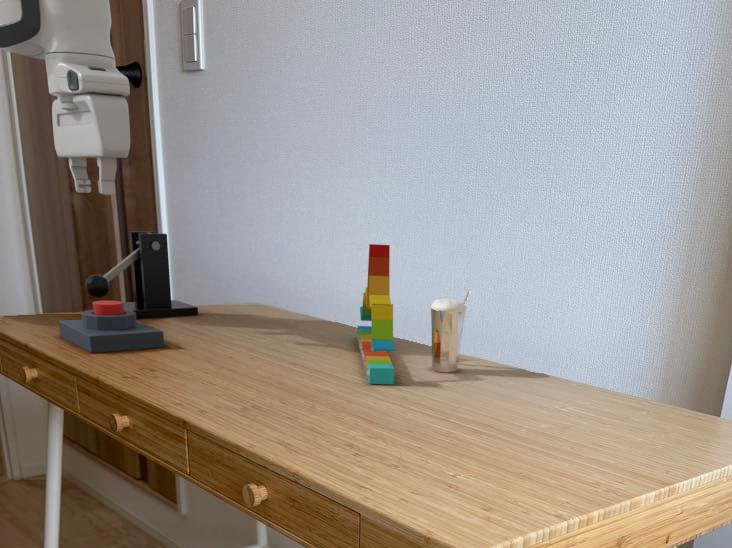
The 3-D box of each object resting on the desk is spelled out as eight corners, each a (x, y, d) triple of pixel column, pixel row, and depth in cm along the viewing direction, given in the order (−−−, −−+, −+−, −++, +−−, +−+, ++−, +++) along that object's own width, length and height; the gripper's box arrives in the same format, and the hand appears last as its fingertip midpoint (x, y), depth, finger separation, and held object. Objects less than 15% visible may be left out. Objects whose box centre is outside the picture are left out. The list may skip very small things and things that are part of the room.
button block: (60, 336, 118) (57, 307, 116) (129, 331, 124) (127, 304, 122) (91, 353, 109) (88, 322, 107) (164, 347, 114) (162, 317, 113)
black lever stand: (128, 319, 134) (121, 234, 129) (109, 311, 140) (101, 230, 135) (198, 315, 141) (194, 234, 136) (176, 307, 147) (171, 230, 142)
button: (89, 314, 115) (88, 301, 114) (118, 312, 117) (117, 299, 117) (99, 318, 112) (98, 305, 111) (128, 316, 114) (127, 303, 114)
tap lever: (100, 303, 133) (85, 285, 131) (92, 300, 136) (77, 282, 133) (166, 249, 136) (152, 230, 134) (157, 247, 139) (144, 228, 137)
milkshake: (473, 371, 109) (479, 293, 105) (439, 374, 106) (443, 294, 102) (454, 365, 112) (460, 288, 108) (420, 367, 110) (425, 289, 106)
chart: (355, 338, 127) (357, 234, 121) (376, 339, 128) (379, 235, 122) (367, 384, 100) (371, 252, 94) (393, 384, 100) (399, 253, 94)
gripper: (35, 85, 117) (49, 191, 123) (84, 74, 103) (97, 195, 108) (80, 89, 121) (92, 192, 126) (134, 79, 106) (144, 196, 112)
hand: (95, 193), depth 117 cm, fingers open, 8 cm apart
